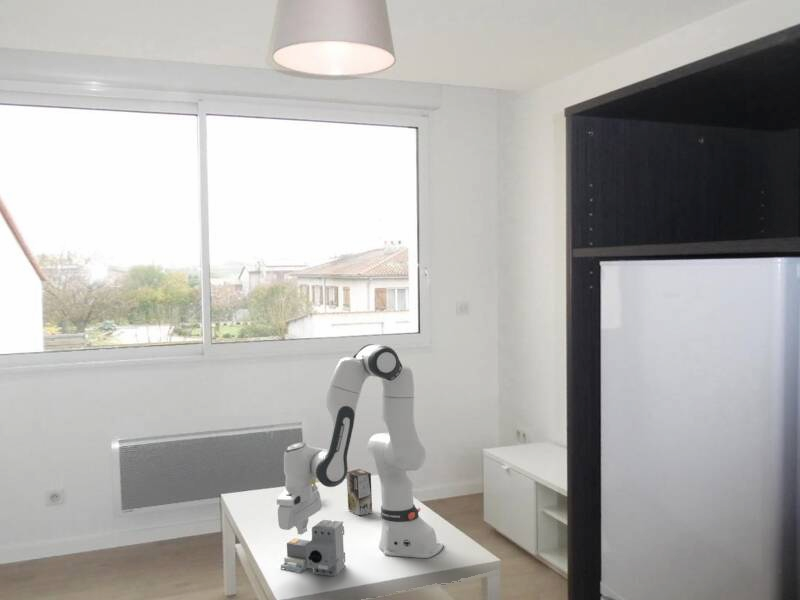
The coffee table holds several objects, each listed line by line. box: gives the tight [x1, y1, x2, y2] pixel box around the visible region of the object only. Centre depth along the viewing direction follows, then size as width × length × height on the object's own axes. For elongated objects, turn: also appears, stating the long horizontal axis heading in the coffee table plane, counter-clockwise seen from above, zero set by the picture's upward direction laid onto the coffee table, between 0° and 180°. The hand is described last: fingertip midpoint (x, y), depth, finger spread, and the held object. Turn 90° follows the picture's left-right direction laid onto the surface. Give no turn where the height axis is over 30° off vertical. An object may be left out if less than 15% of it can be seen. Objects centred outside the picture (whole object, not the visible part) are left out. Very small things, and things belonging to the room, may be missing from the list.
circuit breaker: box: [306, 519, 346, 577], centre depth 236 cm, size 8×14×15 cm, turn 159°
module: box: [286, 537, 311, 564], centre depth 245 cm, size 8×4×6 cm, turn 63°
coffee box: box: [346, 468, 373, 516], centre depth 295 cm, size 9×6×16 cm
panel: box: [280, 555, 308, 573], centre depth 246 cm, size 8×14×3 cm, turn 153°
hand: (302, 532), depth 245 cm, fingers closed
